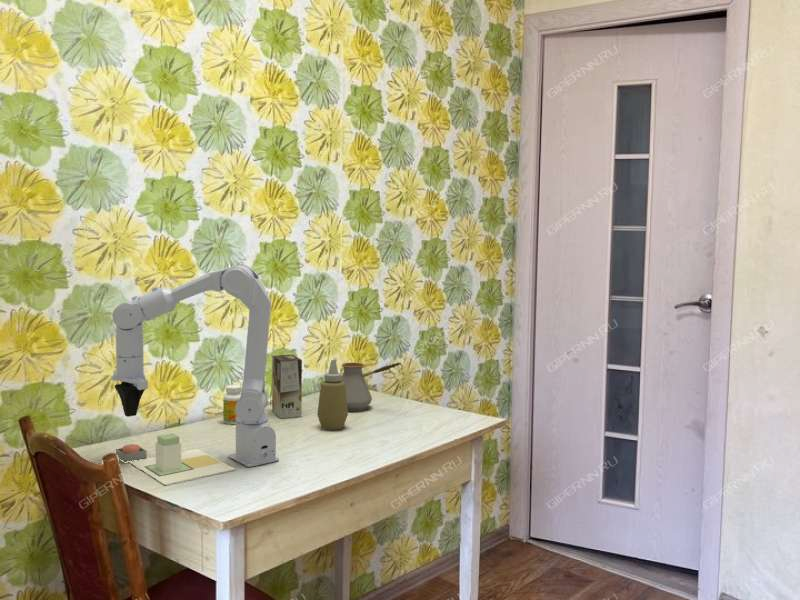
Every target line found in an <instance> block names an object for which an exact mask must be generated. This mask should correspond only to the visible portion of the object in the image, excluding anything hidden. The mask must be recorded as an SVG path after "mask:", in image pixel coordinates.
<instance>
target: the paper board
mask: <svg viewBox="0 0 800 600" xmlns="http://www.w3.org/2000/svg"><path fill="white" fill-rule="evenodd" d="M132 464H134V465H135V466H137V467H138V468H140V469H141V470H143V471H144V472H146V473H147V474H149V475H150V476H152V477H153V478H155V479H156V480H155V479H154V480H155V481H157V480H158V481H159V482H158V481H157V482H158V483H160V482H161V483H162V484H161V483H160V484H161V485H163V484H164V485H167V486H169V485H168V484H171V485H175V484H174V483H176V484H180V483H185V482H188V481H189V482H190V481H193V479H194V480H197V479H202V478H203V479H204V478H207V477H211V476H216V475H220V474H225V473H229V472H233V470H234V471H236V469H235V467H233V466H230V465H228V464H227V463H224V462H223V461H220V460H219V459H217V458H215V457H213V456H211V455H210V454H208V453H206V452H203V451H202V450H200V449H198V448H193V449H191V450H189V449H188V450H185V451H181V469H177V470H172V471H167V472H162V471H161V470H159V469H158V468H156V456H154V457H153V456H152V457H148V458H147V459H142V460H137V461H132ZM132 464H131V465H132ZM135 466H134V467H135ZM137 467H136V468H137ZM138 468H137V469H138ZM140 469H139V470H140ZM141 470H140V471H141ZM143 471H142V472H143ZM144 472H143V473H144ZM146 473H145V474H146ZM147 474H146V475H147ZM149 475H148V476H149ZM150 476H149V477H150ZM152 477H151V478H152ZM153 478H152V479H153ZM184 481H185V482H184ZM179 482H180V483H179ZM164 485H163V486H164Z"/></svg>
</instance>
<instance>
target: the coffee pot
mask: <svg viewBox="0 0 800 600" xmlns="http://www.w3.org/2000/svg"><path fill="white" fill-rule="evenodd" d="M400 365H401V368H400ZM364 366H365V364H364V363H360V362H344V363H342V364H341V367H343V373H342V380H341V381H343V382H344V383H345V387H346V399H347V412H358V411H359V410H360V411H364V410H365V409H366V408H367V407H368V406H370V404H371V402H372V400H373V397H372V395H371V392H370V389H369V387H368V384H367V381H366V380H365V377H368V376H371V375H374V374H378V373H381V372H384V371H388V370H390V369H392V368H393V369H395V367H398V369H399V370H403V368H404V367H403V364H402V362H395V363H391V364H389V365H388V364H387V365H384V366H381V367H380V368H377V369H374V370H372V371H368V372H366V373H362V371H363V368H364ZM360 411H359V412H360Z"/></svg>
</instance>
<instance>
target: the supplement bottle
mask: <svg viewBox="0 0 800 600" xmlns="http://www.w3.org/2000/svg"><path fill="white" fill-rule="evenodd" d="M241 390H242V385H239V384H228V385H226V387H225V392H226V393H225V394H224V395H223V399H222V400H223V405H222V406H223V410H222V411H223V415H222V416H223V418H222V420H223V423H224V424H227V425H236V417H237V415H236V412H235V407H236V404H237V402H238V400H239V399H240V397H241Z"/></svg>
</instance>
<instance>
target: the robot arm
mask: <svg viewBox="0 0 800 600" xmlns="http://www.w3.org/2000/svg"><path fill="white" fill-rule="evenodd" d="M206 291H207V292H208V291H215V292H222V291H225V292H226V293H227V294H228V295H229V296H232V297H233V298H236V299H238V300H239V301H240V302H242V304H243V305H244V306H245V307H246V308H247V309H248V310H249V312H248V325H247V335H246V347H245V357H244V358H245V359H244V370H243V381H242V385H241V392H240V393H241V397H240V399H239V400H238V402H237V404H236V407H235V412H236V415H237V417H236V424H235V453H229V454H228V455H227V457H228V458H230V459H232V460H234V461H235V462H237V463H240V464H242V465H244V466H246V467H249V468H251V467H256V466H260V465H265V464H269V463H273V462H277V461H278V462H279V461H280V458H279V457H278V456H277V457H276V455H277V454H276V453H277V451H276V447H277V442H276V441H277V434H276V431H275V430H274V428H273V427H271V426H270V424H269V416H268V415H267V414H266V412H265V409H266V407H267V405H268V402H269V401H268V400H269V399H268V395H267V392H266V379H265V377H266V369H267V368H266V367H267V356H268V346H269V332H270V323H271V311H272V299H271V297H270V295H269V294H268V292H267V290H266V288H265V286H264V285H263V283H262V280H261V278H260V275H259V274H258V273H257V272H256V271H254V270H253V269H252V268H251V267H250V266H249V265H246V264H236V265H234V266H232V267H225V268H221V269H217V270H214V271H210V272H208V273H206V274H204V275H201V276H199V277H197V278H195V279H192V280H190V281H188V282H186V283H184V284H182V285H179V286H177V287H175V288H173V289H172V288H169V287H166V286H161V287H159V286H157V285H156V286H154V287H152V288H151V291H149V292H147V293H144V294H143V295H140V296H137V295H135V296H132V297H131V300H130V301H126V302H122V303H120V304H119V305H117V306H116V307H115V308H114V310H113V311H112V315H111V316H112V321H113V323H114V325H115V326H116V327H115V357H116V358H115V360H116V361H115V362H116V364H115V367H116V368H115V369H114V370H113V375H112V376H110V380H111V381H113V382H114V381H115V382H116V381H119V382H120V383H118V384H115V385H114V389H115V390H116V391H117V394H118V396H119V399H120V402H121V405H122V410H123V413H124V416H125V417H126V418H127V417H129V418H130V417H134V416H135V417H136V416H137V413H138V409H139V406H140V401H141V398H142V396H143V394H144V392H145V391H146V390H148V389H149V380H148V379H146V376H145V373H144V370H145V369H144V364H145V363H144V333H143V332H144V331H143V330H144V327H143V323H144V322H149V321H151V320H154V319H156V318H159V317H161V316H164V315H166V314H168V313H171V312H173V311H175V309H176V306H177V304H178V303H180V302H181V301H184V300H186V299H190V298H191V297H194V296H197V295H199V294H202V293H205V292H206Z"/></svg>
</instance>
